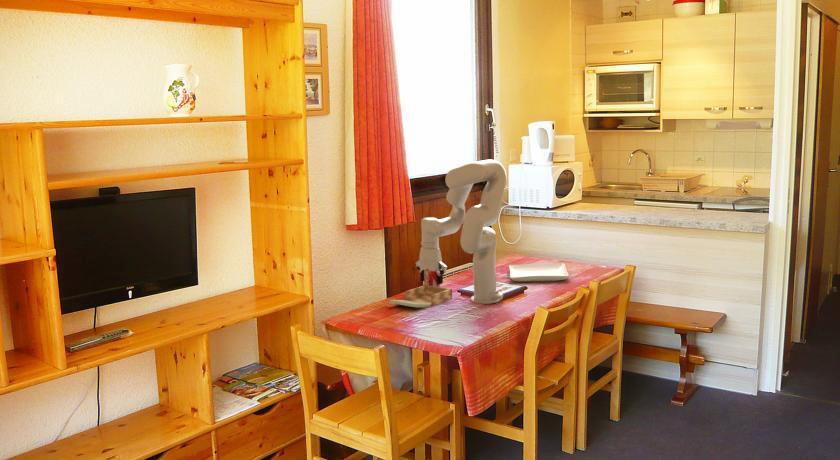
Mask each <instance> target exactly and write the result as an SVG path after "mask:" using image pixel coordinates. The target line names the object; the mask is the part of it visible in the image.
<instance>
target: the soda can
mask: <svg viewBox="0 0 840 460" xmlns="http://www.w3.org/2000/svg"><path fill="white" fill-rule="evenodd" d="M427 268H428V267H427ZM439 272H440V271H439ZM437 276H438V274H437V272H436V271H434V272H433V271H430V270H429V269H426V270H424V281H423V282H424V285H428V286H435V287H441V284H437Z"/></svg>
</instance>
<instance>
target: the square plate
mask: <svg viewBox="0 0 840 460" xmlns="http://www.w3.org/2000/svg"><path fill="white" fill-rule="evenodd" d="M508 268H509V279H511V280H512V281H514V282H520V283H521V282H525V283H526V282H556V281H557V282H558V281H563V280H565V279H566V280H567V279H568V277H569V276H570V274H569V272H568V270H567V268H566V264H565V263H563V262H562V263H527V264H526V263H524V264H510V265H509V266H508Z"/></svg>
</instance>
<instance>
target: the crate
mask: <svg viewBox="0 0 840 460" xmlns="http://www.w3.org/2000/svg"><path fill="white" fill-rule="evenodd" d="M452 299H453V289H452V288H447V287H441V286H440V287H435V286H428V285H425V284H424V285H421V286H417V287H415V288H412V289H409V290H406V291H405V300H407V301H413V302H419V303H424V304H430V305H431V307H433V306H436V305H439V304H442V303H445V302H448V301H450V300H452Z"/></svg>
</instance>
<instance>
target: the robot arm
mask: <svg viewBox="0 0 840 460" xmlns="http://www.w3.org/2000/svg"><path fill="white" fill-rule="evenodd" d="M507 179H508V178H507V172H506V169H505V167H504V166H503V165H502V163H501V162H500V161H497V160H495V159H484V160H479V161H478V160H477V161H473V162H468V163H466V164H463V165H461V166H459V167H455V168H452V169H450V170H448V171H447V173H446V175H445V178H444V180H445V185H446V186H447V188H449V189H448V192H447V193H446V196H445V198H446V201H447V202H448V203H449V204H450V205H452V208H451V211H450V213H449V215H448V216H447V217H443V218H440V219H438V218H437V217H432V216H428V217H424V218H422V219H421V221H420V222H421V223H420V225H421V229H420V230H421V241H420V245H421V247H420V250H419V259H418V261H417V260H416V262H415V265H416V268H417V270H418V273H419V274H420V282H424V270H426V269H429V270H430V271H433V272H434V271H436V272H437V274H438V276H437V284H440V285H442V284H443V283H444V280H443V279H444V277H443V276H444V274H445V273H446V271H447V269H448V266H447V265H446V264H445V263H443V261H442V260H443V259H442V258H443V257H442V252H441V248H440V244H439V243H440V242H439V241H440V237H444V236H449V235H452V234H455V233H457V232H458V231H459V229H460V228H461V226H462V229H461V234H460V247H461V248H462V250H463V251H464V253H467V254H473V256H472V257H473V258H472V273H473V295H472V296H471V297H470V301H471V302H474V303H480V305H489V304H491V305H492V304H495V303H499V302H500V301H501V300H503V298H504V294H503V293H499V289H497V272H496V271H497V267H496V266H497V265H496V251H497V245H498V244H497V243H498V236H497V234H496V231H495V230H494V229H493V228H491V227H490V226H494V225H495V224H496V223H497V222H498V219H499V216H500V212H501V206H502V202H503V201H502V200H503V196H504V192H505V189H506V186H507ZM481 182H482V183H483V182H486V184H485V186H484V188H483V190H482V193H481V199H480V203H479V204H477V205H473V206H471V207H469V208H468V209H467V210H466V205H465V204H466V201H467V199H468V197H469V195H470V193H471V190H472V188H473V186H474V184H477V183H481ZM427 267H428V268H427ZM439 271H440V272H439Z"/></svg>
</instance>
